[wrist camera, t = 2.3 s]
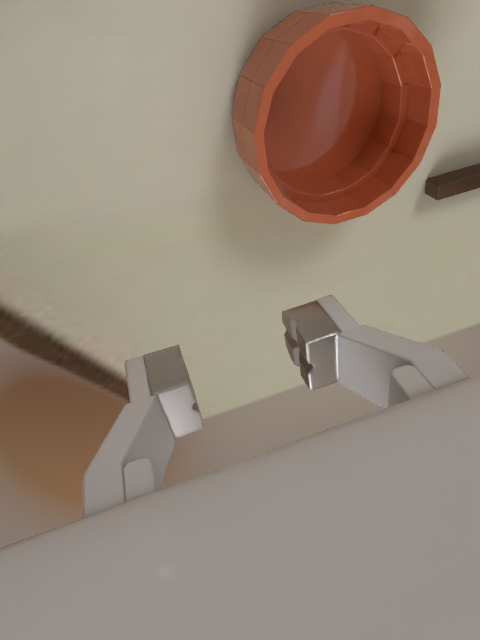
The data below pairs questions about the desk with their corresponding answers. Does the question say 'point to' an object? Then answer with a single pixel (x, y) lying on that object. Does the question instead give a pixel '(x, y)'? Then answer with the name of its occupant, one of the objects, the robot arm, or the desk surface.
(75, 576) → the robot arm
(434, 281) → the desk surface
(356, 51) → the bowl
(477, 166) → the frame
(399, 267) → the desk surface
